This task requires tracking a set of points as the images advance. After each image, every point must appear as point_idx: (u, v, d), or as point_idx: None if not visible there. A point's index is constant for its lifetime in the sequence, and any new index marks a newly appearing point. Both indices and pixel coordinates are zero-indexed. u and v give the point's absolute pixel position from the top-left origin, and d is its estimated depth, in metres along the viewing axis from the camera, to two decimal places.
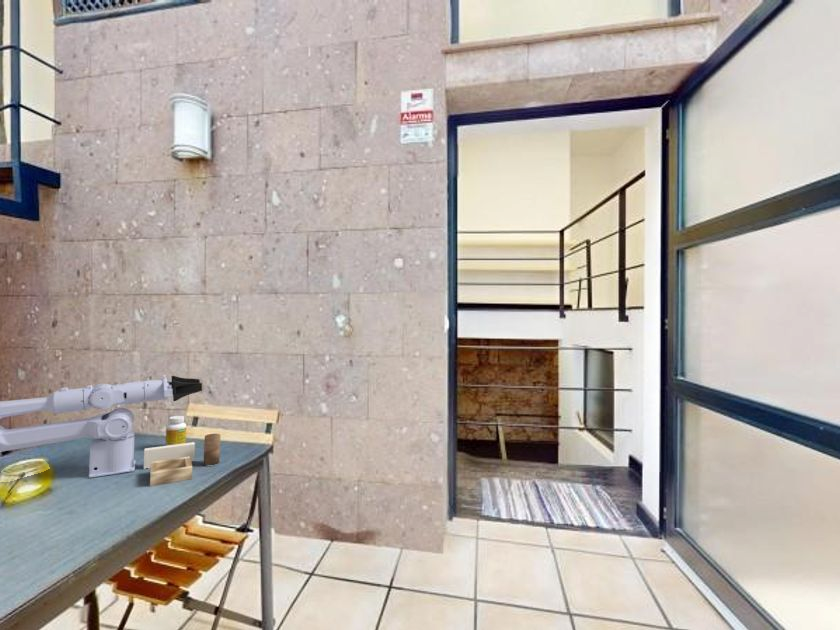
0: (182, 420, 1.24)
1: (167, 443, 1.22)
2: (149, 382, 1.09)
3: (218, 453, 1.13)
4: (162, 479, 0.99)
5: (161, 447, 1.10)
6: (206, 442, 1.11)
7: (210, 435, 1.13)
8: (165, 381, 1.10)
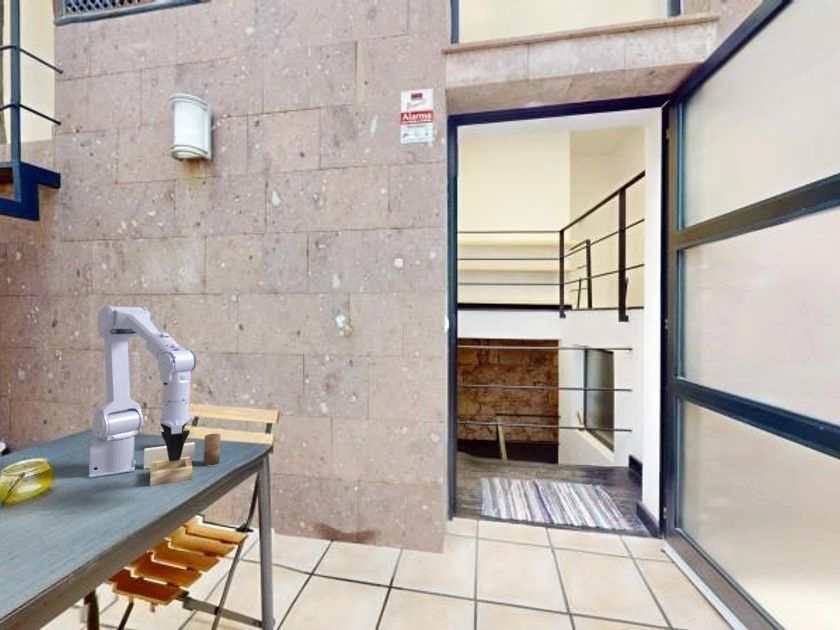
0: None
1: None
2: (188, 404, 0.96)
3: (218, 453, 1.13)
4: (162, 479, 0.99)
5: (161, 447, 1.10)
6: (206, 442, 1.11)
7: (210, 435, 1.13)
8: (187, 420, 0.95)
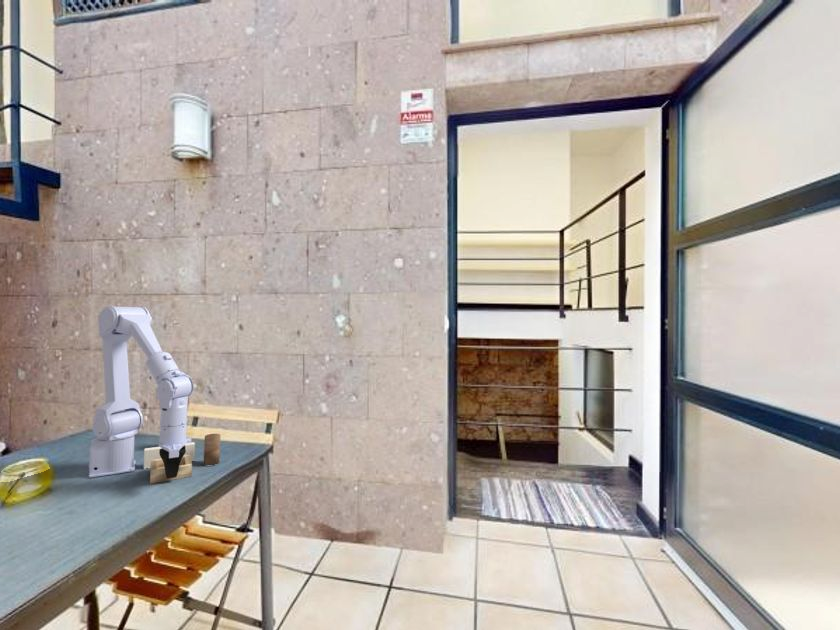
0: None
1: None
2: (185, 428, 1.01)
3: (218, 453, 1.13)
4: (162, 476, 1.00)
5: None
6: (206, 442, 1.11)
7: (210, 435, 1.13)
8: (184, 443, 1.00)
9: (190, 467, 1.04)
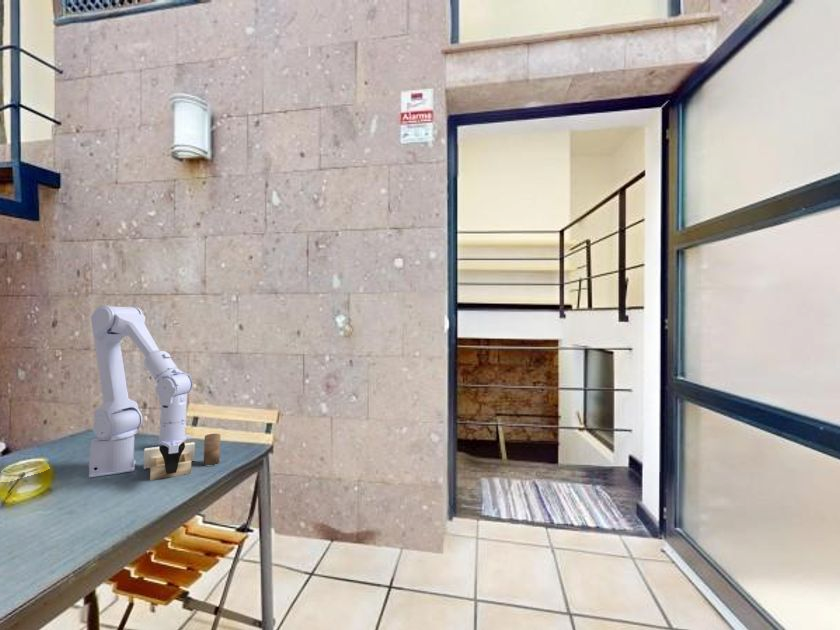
0: None
1: None
2: (184, 425, 1.03)
3: (218, 453, 1.13)
4: (162, 473, 1.02)
5: None
6: (206, 442, 1.11)
7: (210, 435, 1.13)
8: (184, 440, 1.02)
9: (189, 464, 1.06)
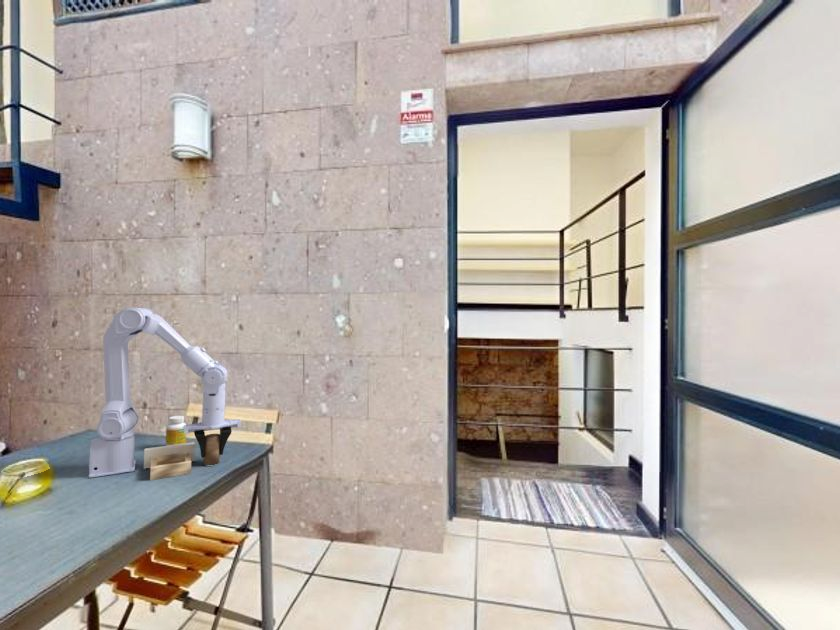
0: (182, 420, 1.24)
1: (167, 443, 1.22)
2: (209, 414, 1.10)
3: (218, 453, 1.13)
4: (162, 473, 1.02)
5: (161, 447, 1.10)
6: (206, 442, 1.11)
7: (210, 435, 1.13)
8: (205, 427, 1.10)
9: (189, 464, 1.06)
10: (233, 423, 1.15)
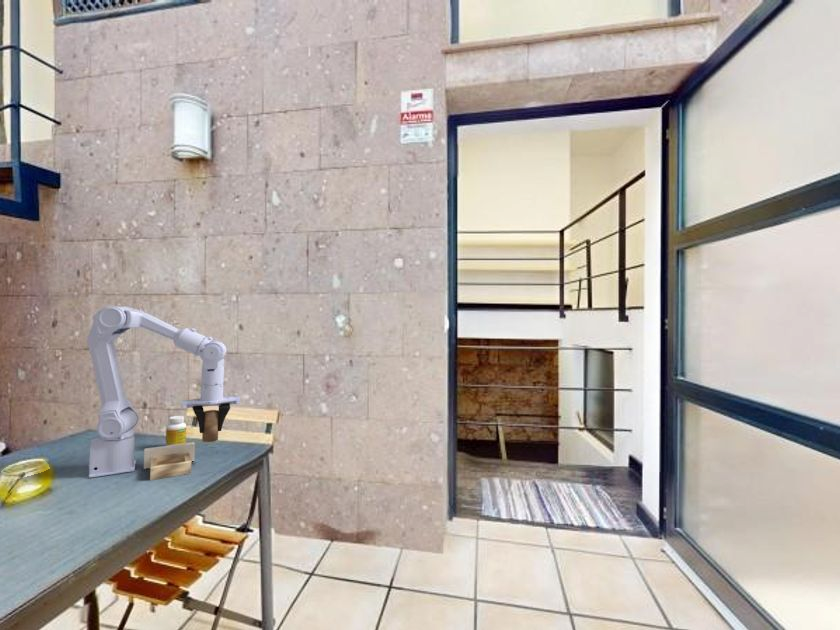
0: (182, 420, 1.24)
1: (167, 443, 1.22)
2: (208, 389, 1.10)
3: (216, 429, 1.12)
4: (162, 473, 1.02)
5: (161, 447, 1.10)
6: (205, 418, 1.11)
7: (209, 411, 1.13)
8: (204, 403, 1.09)
9: (189, 464, 1.06)
10: (232, 399, 1.14)
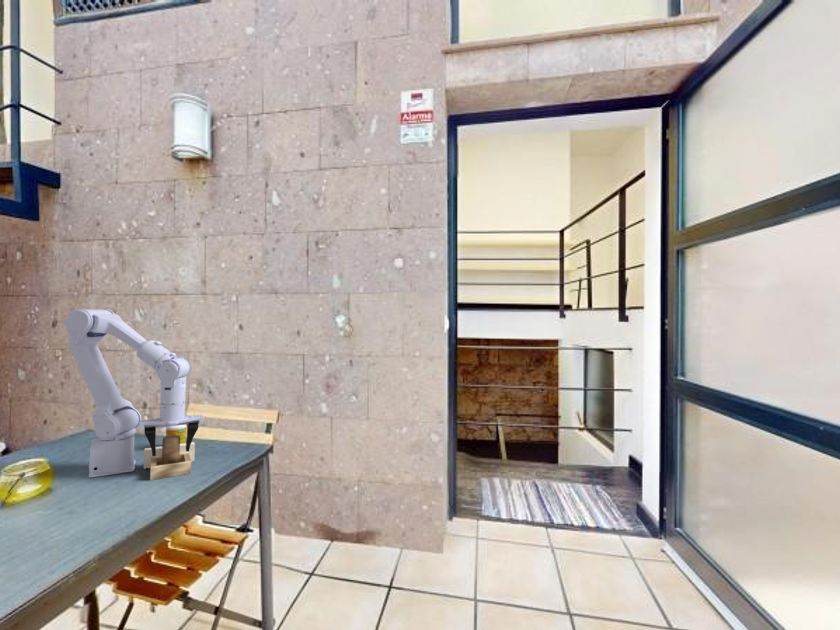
0: None
1: None
2: (167, 409, 1.04)
3: (177, 456, 1.07)
4: (162, 473, 1.02)
5: (161, 447, 1.10)
6: (164, 444, 1.05)
7: (169, 437, 1.07)
8: (163, 423, 1.04)
9: (189, 464, 1.06)
10: (194, 419, 1.09)
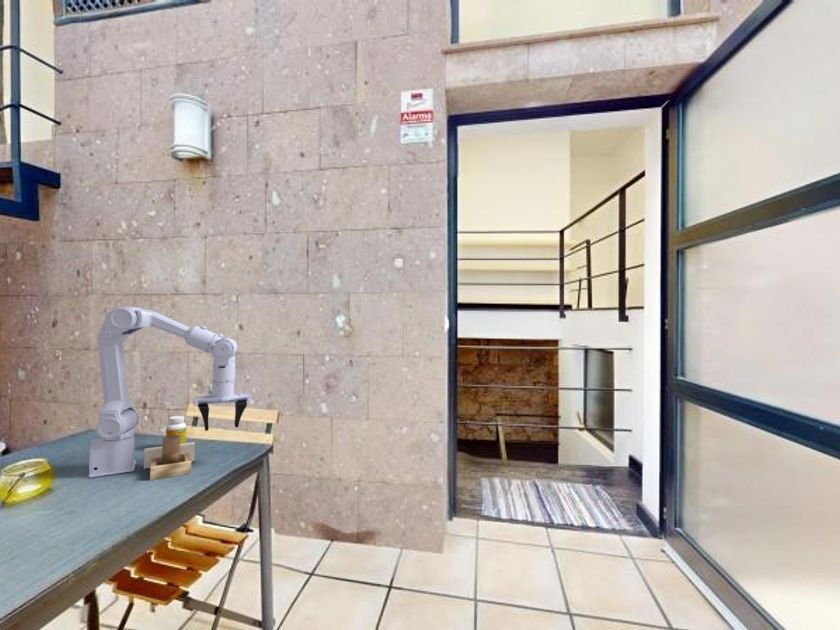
0: (182, 420, 1.24)
1: None
2: (219, 386, 1.10)
3: (177, 456, 1.07)
4: (162, 473, 1.02)
5: (161, 447, 1.10)
6: (164, 444, 1.05)
7: (169, 437, 1.07)
8: (215, 400, 1.09)
9: (189, 464, 1.06)
10: (243, 396, 1.14)
